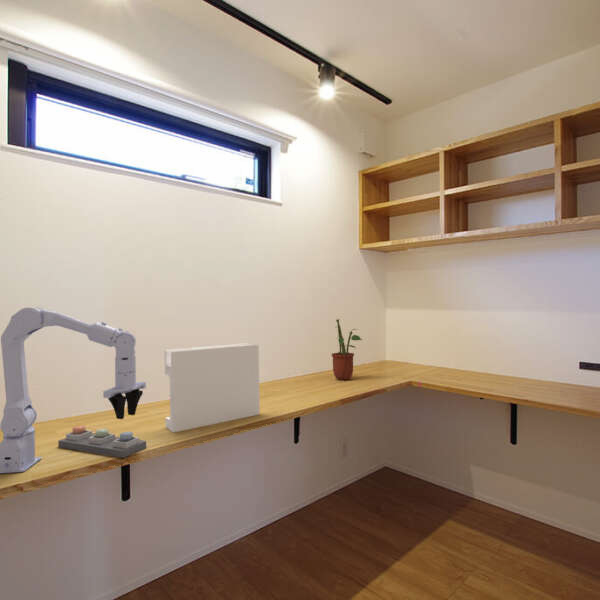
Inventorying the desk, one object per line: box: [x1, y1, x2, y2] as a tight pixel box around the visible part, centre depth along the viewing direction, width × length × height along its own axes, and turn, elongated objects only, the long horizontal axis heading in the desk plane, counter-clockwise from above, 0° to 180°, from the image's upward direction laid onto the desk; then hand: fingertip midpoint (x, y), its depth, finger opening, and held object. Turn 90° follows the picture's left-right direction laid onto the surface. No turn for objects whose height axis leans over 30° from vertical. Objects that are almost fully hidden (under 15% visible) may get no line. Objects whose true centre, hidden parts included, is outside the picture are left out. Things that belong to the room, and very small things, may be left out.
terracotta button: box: [72, 425, 86, 434], centre depth 127 cm, size 4×4×2 cm
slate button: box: [119, 431, 134, 441], centre depth 120 cm, size 4×4×2 cm
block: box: [164, 343, 261, 433], centre depth 151 cm, size 35×8×28 cm, turn 127°
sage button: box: [94, 427, 109, 437], centre depth 124 cm, size 4×4×2 cm
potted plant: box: [331, 318, 363, 381], centre depth 232 cm, size 17×16×35 cm
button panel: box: [57, 429, 147, 459], centre depth 124 cm, size 27×9×4 cm, turn 68°
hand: (125, 416), depth 120 cm, fingers open, 4 cm apart
